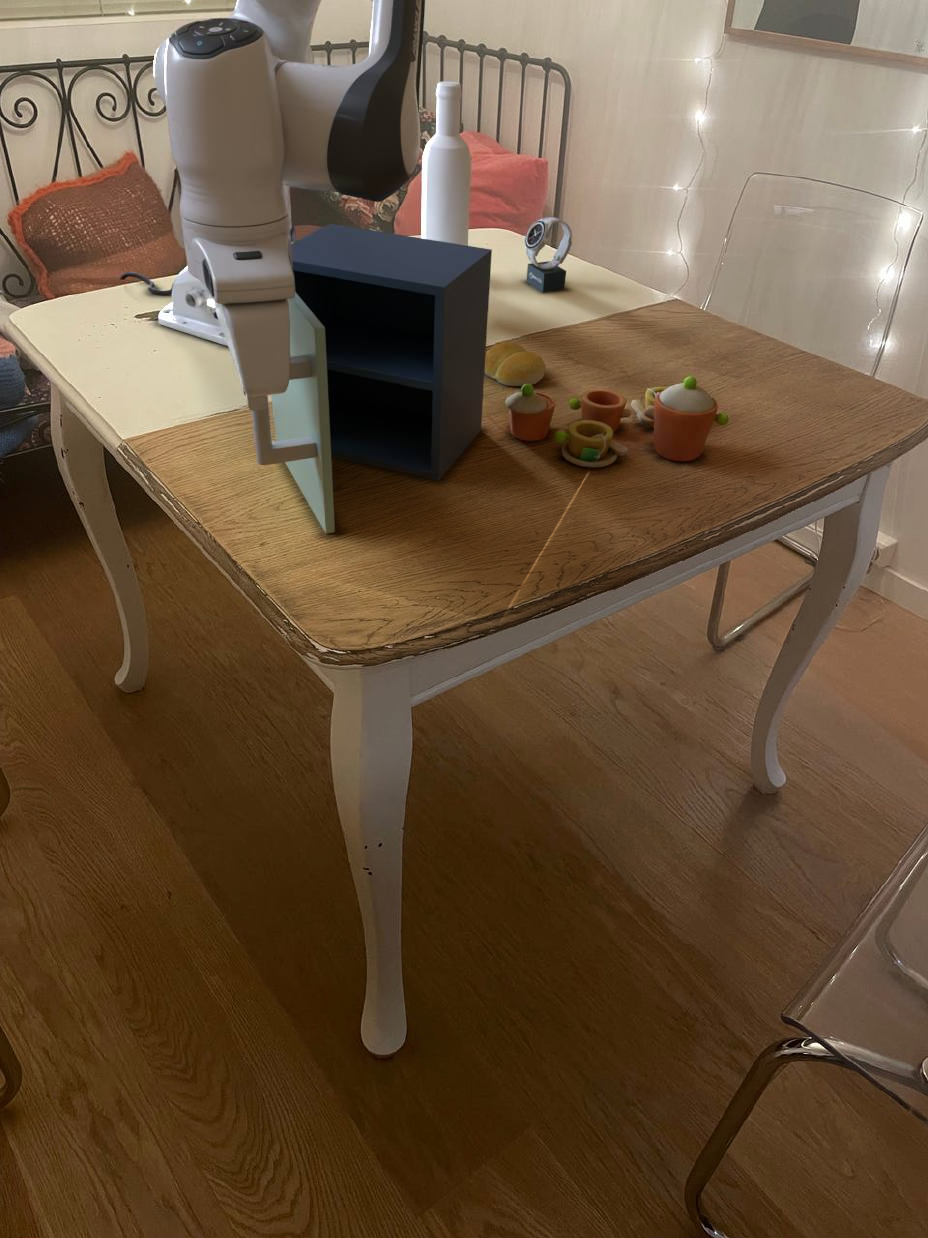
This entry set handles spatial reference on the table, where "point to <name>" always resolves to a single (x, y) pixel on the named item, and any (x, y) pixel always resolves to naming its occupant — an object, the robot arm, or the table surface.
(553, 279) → the watch
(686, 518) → the table surface
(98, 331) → the table surface
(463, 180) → the bottle
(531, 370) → the bread roll
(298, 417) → the cupboard door
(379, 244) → the cupboard
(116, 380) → the table surface
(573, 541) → the table surface
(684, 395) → the toy tea set
